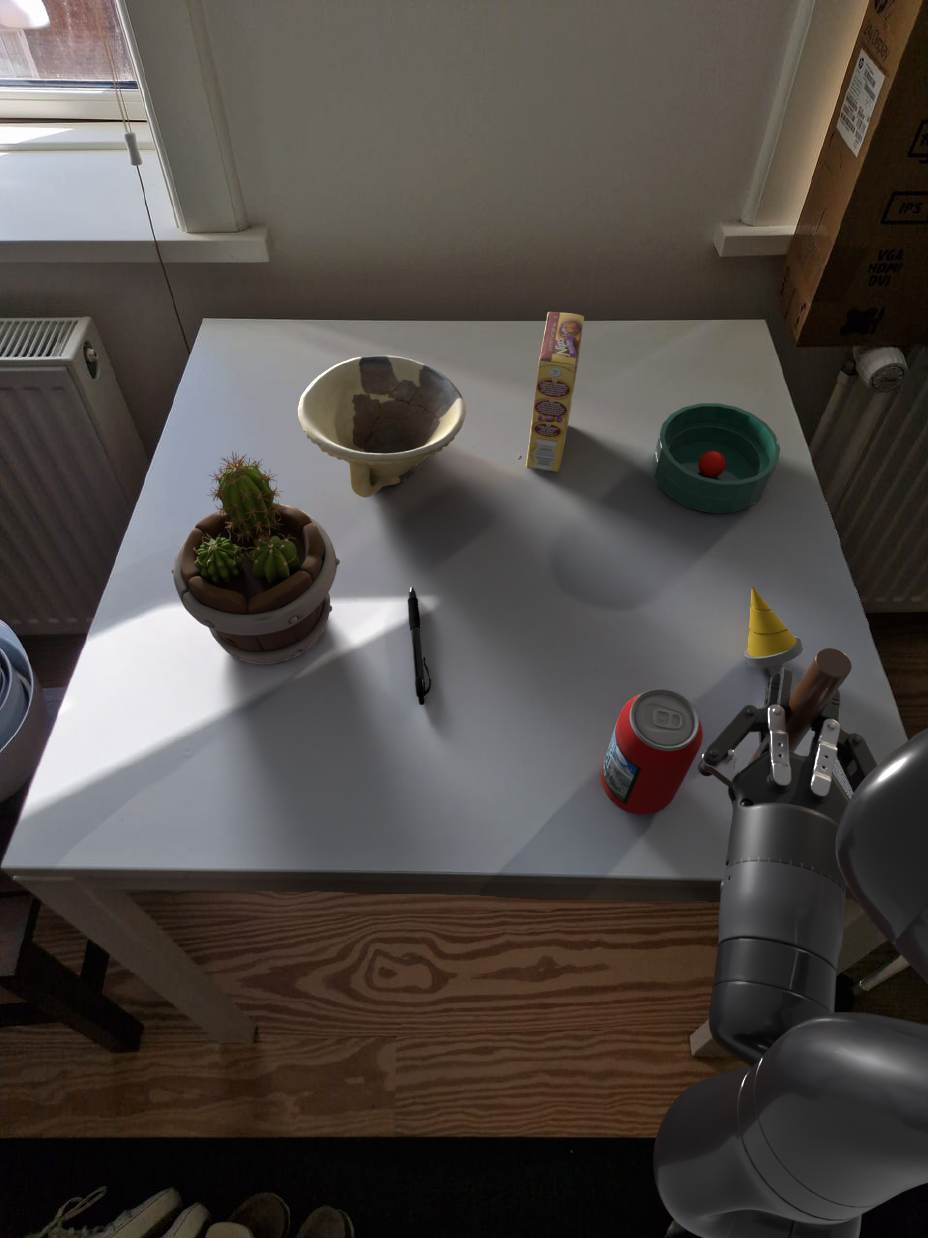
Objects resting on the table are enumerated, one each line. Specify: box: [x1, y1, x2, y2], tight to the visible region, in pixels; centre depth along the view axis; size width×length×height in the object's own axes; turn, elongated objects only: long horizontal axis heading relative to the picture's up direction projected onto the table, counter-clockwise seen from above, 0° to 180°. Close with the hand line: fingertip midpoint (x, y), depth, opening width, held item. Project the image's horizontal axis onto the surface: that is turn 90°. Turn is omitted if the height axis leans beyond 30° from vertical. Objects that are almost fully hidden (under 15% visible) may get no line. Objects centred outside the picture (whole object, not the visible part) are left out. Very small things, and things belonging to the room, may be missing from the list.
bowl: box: [297, 355, 467, 499], centre depth 96 cm, size 18×18×10 cm
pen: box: [407, 586, 432, 706], centre depth 85 cm, size 14×2×1 cm, turn 6°
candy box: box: [525, 311, 585, 473], centre depth 96 cm, size 9×4×15 cm, turn 170°
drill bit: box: [743, 586, 804, 677], centre depth 82 cm, size 5×5×10 cm
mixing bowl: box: [651, 402, 781, 514], centre depth 97 cm, size 13×13×5 cm
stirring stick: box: [747, 647, 853, 766], centre depth 65 cm, size 2×2×17 cm
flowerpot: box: [171, 450, 341, 665], centre depth 78 cm, size 14×15×20 cm
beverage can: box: [600, 688, 704, 816], centre depth 71 cm, size 7×7×12 cm
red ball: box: [698, 451, 726, 478], centre depth 97 cm, size 3×3×3 cm
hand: (803, 679), depth 66 cm, fingers closed on stirring stick, 2 cm apart
